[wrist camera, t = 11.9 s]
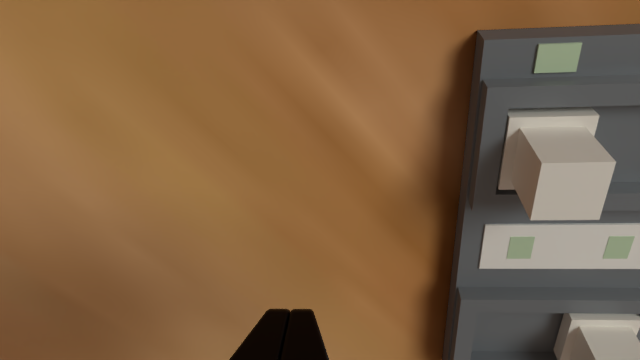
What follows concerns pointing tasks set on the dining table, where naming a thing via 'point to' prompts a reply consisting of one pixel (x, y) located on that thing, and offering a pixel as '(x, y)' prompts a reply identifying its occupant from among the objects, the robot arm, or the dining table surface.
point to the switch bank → (509, 213)
